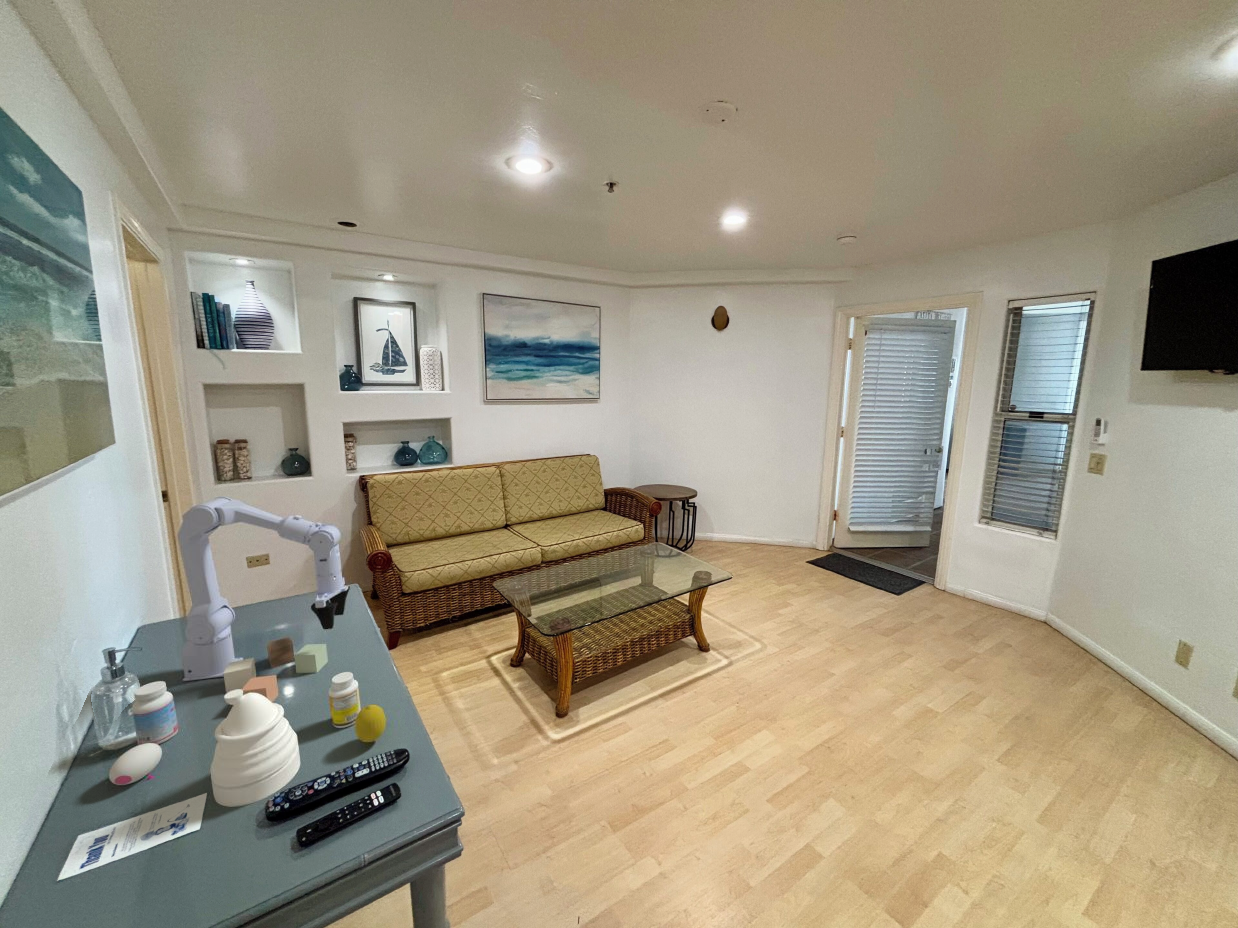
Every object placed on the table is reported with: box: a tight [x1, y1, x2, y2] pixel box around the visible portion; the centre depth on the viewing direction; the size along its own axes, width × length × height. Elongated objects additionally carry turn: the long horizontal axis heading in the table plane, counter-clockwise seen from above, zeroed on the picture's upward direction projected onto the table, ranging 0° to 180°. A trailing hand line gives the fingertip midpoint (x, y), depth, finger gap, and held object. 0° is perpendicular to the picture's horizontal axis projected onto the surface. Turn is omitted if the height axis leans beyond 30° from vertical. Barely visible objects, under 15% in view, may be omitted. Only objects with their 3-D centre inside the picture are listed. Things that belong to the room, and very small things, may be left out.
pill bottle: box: [131, 680, 179, 746], centre depth 98 cm, size 6×6×11 cm
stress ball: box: [108, 743, 163, 786], centre depth 89 cm, size 8×8×7 cm
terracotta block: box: [242, 674, 279, 703], centre depth 110 cm, size 5×5×5 cm
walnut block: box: [266, 636, 295, 669], centre depth 126 cm, size 5×5×5 cm
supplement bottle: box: [328, 671, 362, 729], centre depth 103 cm, size 6×6×10 cm
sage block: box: [294, 643, 329, 674], centre depth 124 cm, size 5×5×5 cm
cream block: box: [223, 657, 257, 694], centre depth 117 cm, size 5×5×5 cm
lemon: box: [354, 704, 387, 743], centre depth 97 cm, size 6×6×8 cm
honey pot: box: [209, 689, 301, 808], centre depth 88 cm, size 13×13×18 cm
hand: (333, 621), depth 127 cm, fingers open, 7 cm apart
